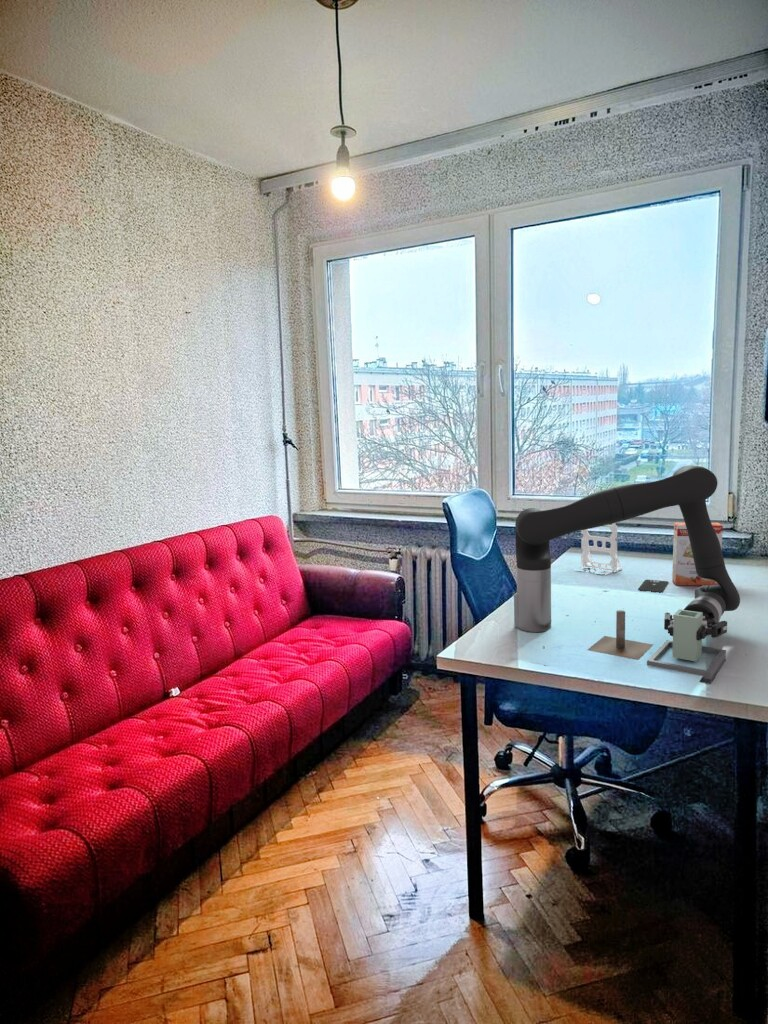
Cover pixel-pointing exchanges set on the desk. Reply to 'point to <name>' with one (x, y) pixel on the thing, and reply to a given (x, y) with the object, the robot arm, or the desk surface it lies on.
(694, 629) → the sleeve
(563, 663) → the desk surface
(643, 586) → the smartphone
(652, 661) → the grey tray
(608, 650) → the board
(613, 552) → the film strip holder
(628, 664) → the desk surface
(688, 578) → the cracker box
